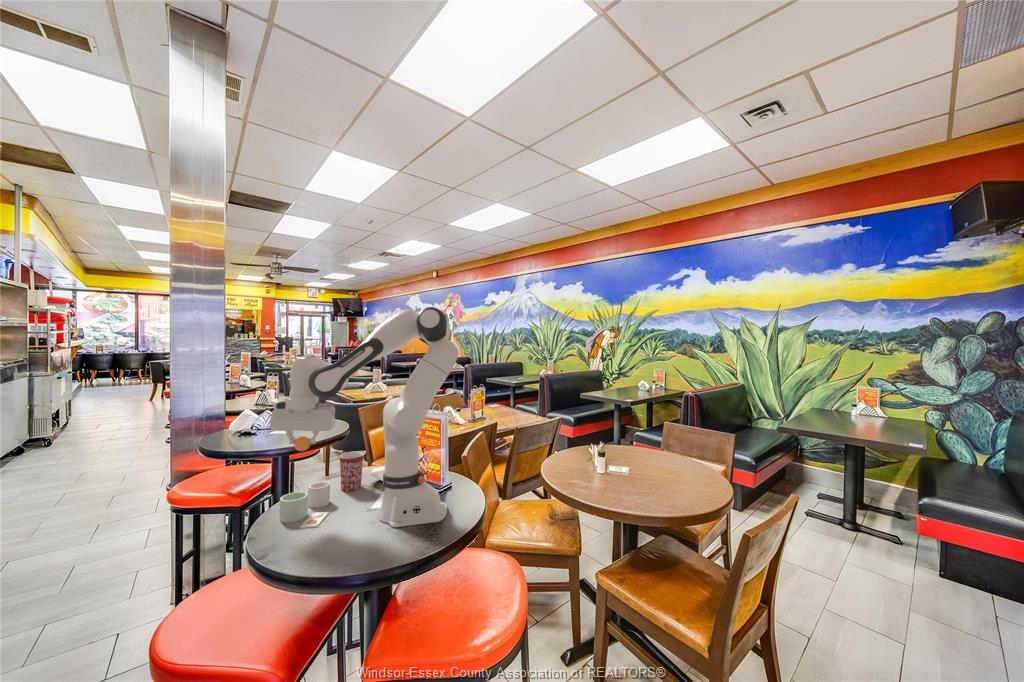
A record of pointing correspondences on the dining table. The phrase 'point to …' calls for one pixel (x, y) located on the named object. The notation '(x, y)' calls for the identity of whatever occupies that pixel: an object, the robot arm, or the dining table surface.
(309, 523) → the card
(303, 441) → the ball orange
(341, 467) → the mug
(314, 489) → the tube grey
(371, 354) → the robot arm
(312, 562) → the dining table surface
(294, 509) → the tube green
